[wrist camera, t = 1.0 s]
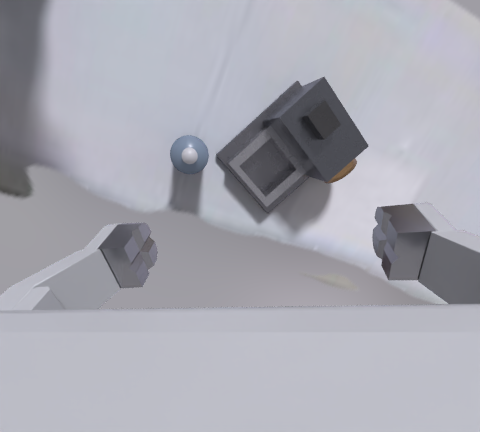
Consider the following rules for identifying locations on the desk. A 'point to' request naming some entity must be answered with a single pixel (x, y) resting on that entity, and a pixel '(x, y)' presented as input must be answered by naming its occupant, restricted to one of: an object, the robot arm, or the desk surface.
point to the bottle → (189, 154)
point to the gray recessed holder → (294, 144)
